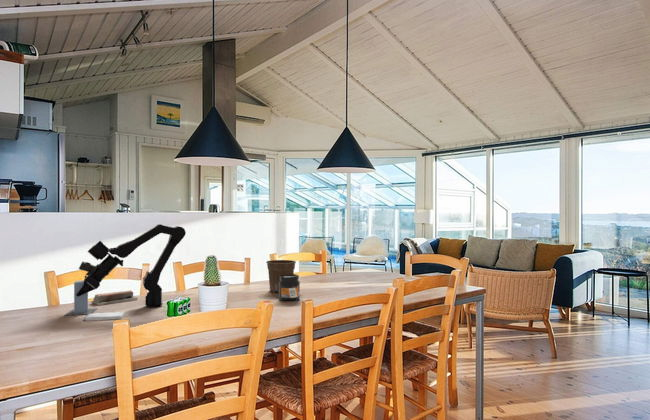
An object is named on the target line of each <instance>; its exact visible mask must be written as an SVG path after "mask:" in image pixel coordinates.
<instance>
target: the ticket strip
mask: <svg viewBox="0 0 650 420" xmlns="http://www.w3.org/2000/svg"><path fill="white" fill-rule="evenodd" d="M125 316H126V311H118V312H117V311H116V312H98V313H97V312H96V313H94V312H93V313H92V314H88V315H85V316H84V317H83V321H86V322H87V321H106V320H107V321H108V320H121V318H122V319H123V318H124V317H125Z"/></svg>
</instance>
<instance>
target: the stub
mask: <svg viewBox="0 0 650 420" xmlns="http://www.w3.org/2000/svg"><path fill="white" fill-rule="evenodd" d="M73 284H74V285H73V298H74V299H73V301H74V302H73V304H74V305H73V310H74V313H84V312H88V309H89V292H88V293H85V294H83V295H81V296H76V294H77V293H78V292H79V290H80V289H81V288H82V286H83V285H84V280H74V282H73Z"/></svg>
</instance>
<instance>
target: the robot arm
mask: <svg viewBox="0 0 650 420" xmlns="http://www.w3.org/2000/svg"><path fill="white" fill-rule="evenodd" d="M186 233H187V232H186V229H185V228H184V227H182V226H178V225H176V226H173V227H172V226H168V225H163V224H160V223H159V224H156V225H155V226H154V227H152V228H150V229H149V230H147V231H145V232H143V233H142V234H141V235H139V236H137V237H135V238H134V239H132V240H129V241H126V242H124V243H122V244H121V243H120V244H119V245H117V246H116V247H110V248H109V247H107V246H106V245H105V244H104V242H102V240H99V241H98V242H96V243H95V244H94V245H92V246H91V248H89V249H88V251H87V253H89V255H91V256H92V257H93V258H94V259H95V260H97V261H98V260H100V261H101V262H100V263H97V264H96V265H94V264H91V262H88V261H83V260H82V262H81V263H80V265H79V267H78V270H81V271H85V272H86V273H85V275H84V279H83V281H84V285H83V286H82V288H81V289H80V290H79V292H78V293H77V294H76V296H81V295H83V294H85V293H88V294H89V292H92V291H94V290H98V288H99V287H101V282H102V281H103V280H104V279H105V278H106V277H107V276H109V274H110V273H111V272H112V271H113V270H114V269H115V268H116V267H117V266H118V265H120V267H123V266H124V258H127V257H129V256H130V255H131V254H132V253H133V252H134V251H135V250H137V248H138V247H140V246H141V245H143V244H145V243H146V242H148V241H150V240H151V239H153V238H155V237H157V236H158V235H160V234H164V235H169V236H168V240H167V243H166V244H165V247H164V248H163V250H162V252H161V254H160V256H159V258H158V259H157V261H156V263H155V265H154V266H153V268H152V269H151V270H150V271H148V270H147V271H146V272H145V275H144V277H142V285H143V288H144V289H145V290H146V291H147V293H146V296H145V297H144V298H145V301H144V302H145V304H144V305H145V308H158V307H159V308H160V307H162V306H163V304H164V303H163V288H162V287H161V286H160V285H159V280H160V277H161V273H162V272H163V270H164V268H165V266H166V264H167V263H168V260H169V259H170V257H171V256H172V254H173V252H174V250H175V249H176V247H177V246H178V244H180V243H181V241H182V240H183V239H184V237H185V236H186ZM113 255H114V256H113ZM120 258H121V259H120Z"/></svg>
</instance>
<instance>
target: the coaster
mask: <svg viewBox="0 0 650 420" xmlns="http://www.w3.org/2000/svg"><path fill="white" fill-rule="evenodd" d="M97 309H98V308H88V312H84V313H74V309H71V310H69V311H68V312H66V313H65V314H64V315H63V316H64V317H69V316H70V317H71V316H87V315H88V314H93V313H94V312H96V311H97Z"/></svg>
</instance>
